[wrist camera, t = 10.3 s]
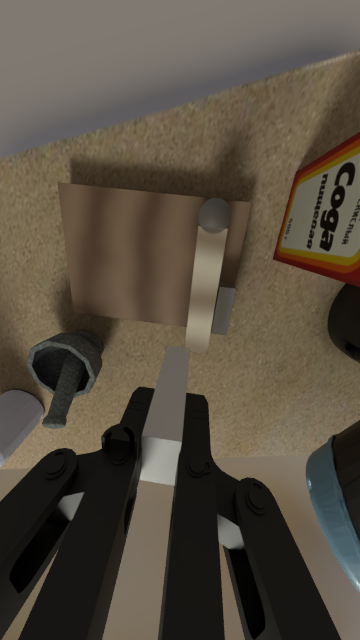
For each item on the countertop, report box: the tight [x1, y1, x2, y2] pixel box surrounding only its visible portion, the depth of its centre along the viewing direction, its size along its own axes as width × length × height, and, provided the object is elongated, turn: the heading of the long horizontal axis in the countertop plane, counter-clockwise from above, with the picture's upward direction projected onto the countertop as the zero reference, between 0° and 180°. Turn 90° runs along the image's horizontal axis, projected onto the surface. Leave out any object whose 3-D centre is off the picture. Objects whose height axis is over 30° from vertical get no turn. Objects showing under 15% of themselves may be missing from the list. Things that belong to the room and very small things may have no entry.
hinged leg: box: [185, 198, 231, 354], centre depth 24 cm, size 18×3×3 cm, turn 175°
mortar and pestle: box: [27, 330, 104, 429], centre depth 29 cm, size 11×9×12 cm
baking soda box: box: [273, 132, 360, 287], centre depth 17 cm, size 10×6×16 cm
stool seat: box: [58, 182, 252, 335], centre depth 25 cm, size 22×16×6 cm
